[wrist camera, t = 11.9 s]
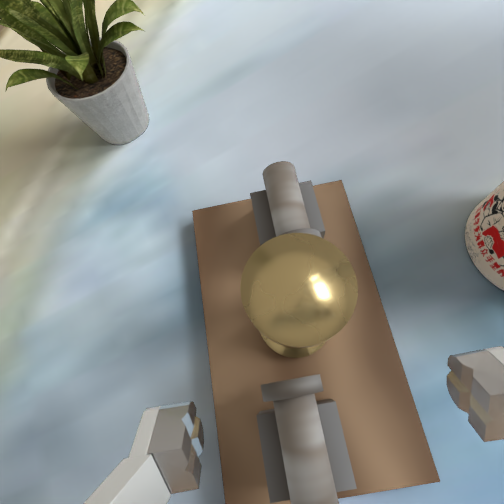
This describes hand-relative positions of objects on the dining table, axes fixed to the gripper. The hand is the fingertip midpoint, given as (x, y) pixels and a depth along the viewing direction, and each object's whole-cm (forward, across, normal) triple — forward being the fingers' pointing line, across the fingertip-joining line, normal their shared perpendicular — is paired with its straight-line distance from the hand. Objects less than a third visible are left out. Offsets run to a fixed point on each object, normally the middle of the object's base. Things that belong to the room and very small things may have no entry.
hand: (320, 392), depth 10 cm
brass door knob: (+10, 0, +5) cm, 11 cm away
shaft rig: (+11, 0, +6) cm, 13 cm away
